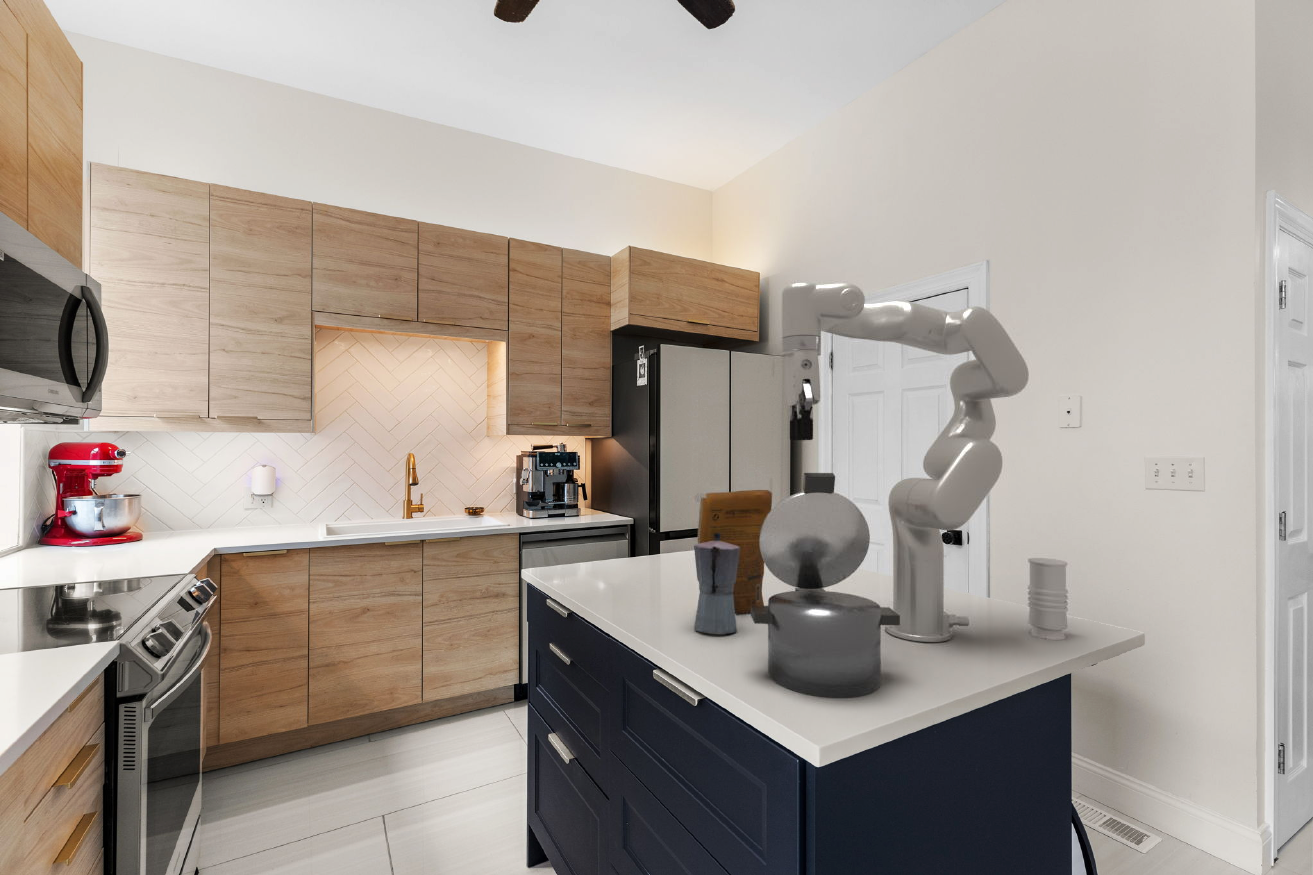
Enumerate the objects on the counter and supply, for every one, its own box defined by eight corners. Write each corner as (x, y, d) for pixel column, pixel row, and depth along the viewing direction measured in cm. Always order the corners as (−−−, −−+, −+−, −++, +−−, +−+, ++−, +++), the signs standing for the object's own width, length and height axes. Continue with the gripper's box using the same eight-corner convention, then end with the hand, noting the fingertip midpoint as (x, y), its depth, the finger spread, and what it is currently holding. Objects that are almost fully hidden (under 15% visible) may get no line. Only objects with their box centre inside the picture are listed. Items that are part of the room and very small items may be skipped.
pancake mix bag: (778, 613, 140) (779, 490, 141) (700, 619, 135) (701, 491, 135) (765, 605, 147) (765, 488, 147) (690, 611, 141) (690, 489, 141)
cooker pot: (873, 654, 113) (873, 588, 113) (915, 699, 93) (915, 619, 93) (744, 652, 113) (745, 587, 114) (759, 696, 94) (760, 617, 94)
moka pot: (738, 620, 134) (738, 528, 134) (741, 643, 119) (741, 539, 119) (694, 619, 135) (695, 528, 135) (691, 641, 120) (692, 538, 120)
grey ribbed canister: (1068, 634, 126) (1068, 560, 126) (1067, 642, 120) (1066, 565, 120) (1029, 628, 130) (1029, 556, 130) (1026, 636, 124) (1026, 561, 124)
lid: (757, 588, 112) (755, 577, 116) (863, 589, 112) (858, 578, 115) (763, 476, 105) (761, 468, 108) (877, 476, 104) (871, 468, 108)
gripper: (831, 340, 112) (831, 439, 112) (810, 354, 129) (810, 440, 129) (790, 340, 113) (790, 439, 112) (774, 354, 130) (774, 440, 129)
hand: (801, 439), depth 121 cm, fingers open, 5 cm apart
